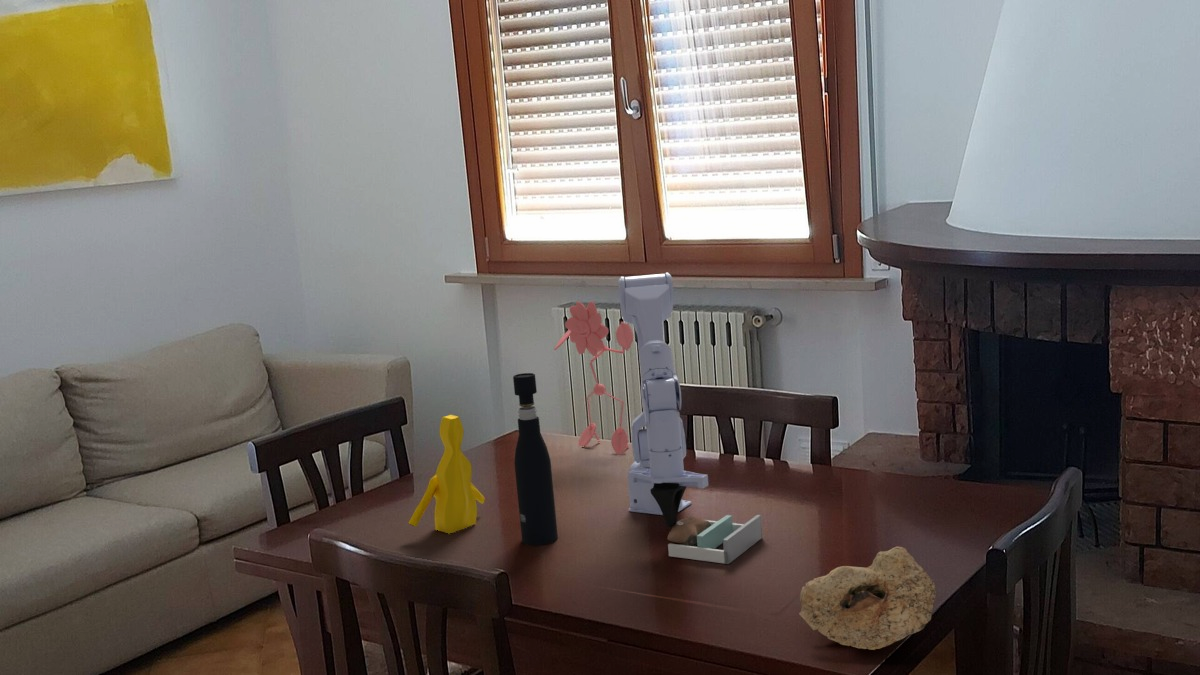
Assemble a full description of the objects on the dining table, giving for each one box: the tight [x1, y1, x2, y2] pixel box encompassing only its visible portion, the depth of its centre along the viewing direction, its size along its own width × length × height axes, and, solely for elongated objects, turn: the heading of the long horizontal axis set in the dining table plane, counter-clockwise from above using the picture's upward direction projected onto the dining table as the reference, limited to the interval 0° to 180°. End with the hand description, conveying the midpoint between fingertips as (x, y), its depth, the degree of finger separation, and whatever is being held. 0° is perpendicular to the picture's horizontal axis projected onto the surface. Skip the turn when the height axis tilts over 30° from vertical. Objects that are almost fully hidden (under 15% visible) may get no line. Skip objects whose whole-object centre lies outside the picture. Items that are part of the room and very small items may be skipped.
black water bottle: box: [512, 372, 559, 547], centre depth 205 cm, size 6×6×30 cm
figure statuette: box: [407, 414, 486, 535], centre depth 215 cm, size 18×8×22 cm, turn 135°
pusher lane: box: [667, 514, 763, 565], centre depth 196 cm, size 11×13×4 cm
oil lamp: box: [667, 516, 711, 546], centre depth 198 cm, size 9×4×8 cm
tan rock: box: [798, 546, 937, 651], centre depth 159 cm, size 18×14×8 cm
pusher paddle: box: [696, 514, 734, 549], centre depth 196 cm, size 1×11×4 cm, turn 148°
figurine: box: [553, 300, 634, 455], centre depth 257 cm, size 15×26×35 cm, turn 44°
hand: (671, 525), depth 199 cm, fingers closed, pressing on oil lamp
